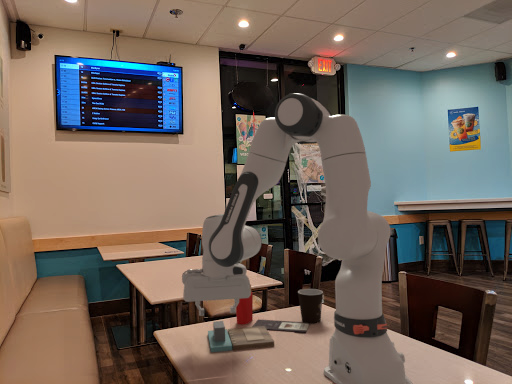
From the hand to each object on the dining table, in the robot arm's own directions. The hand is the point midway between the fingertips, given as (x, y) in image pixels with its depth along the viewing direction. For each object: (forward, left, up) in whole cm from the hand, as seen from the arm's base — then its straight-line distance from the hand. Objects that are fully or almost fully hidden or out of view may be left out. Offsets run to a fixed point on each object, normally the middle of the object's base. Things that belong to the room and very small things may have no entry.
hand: (217, 314), depth 115 cm
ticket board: (-1, -10, -9) cm, 13 cm away
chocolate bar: (+9, -22, -9) cm, 25 cm away
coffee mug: (+12, -35, -9) cm, 38 cm away
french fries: (+16, -11, -9) cm, 21 cm away
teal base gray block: (-1, 0, -8) cm, 8 cm away
